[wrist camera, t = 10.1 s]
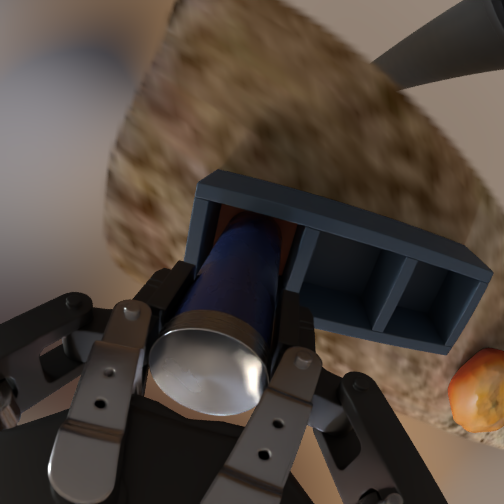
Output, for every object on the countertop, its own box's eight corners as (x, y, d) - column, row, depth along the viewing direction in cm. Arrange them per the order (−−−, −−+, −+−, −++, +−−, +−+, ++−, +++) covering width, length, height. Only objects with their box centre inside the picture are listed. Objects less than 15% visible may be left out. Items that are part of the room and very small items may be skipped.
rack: (217, 168, 20) (197, 182, 16) (464, 245, 19) (494, 272, 15) (199, 260, 22) (179, 291, 18) (427, 319, 22) (446, 355, 18)
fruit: (472, 417, 24) (476, 459, 18) (435, 371, 27) (433, 407, 20) (528, 369, 21) (548, 402, 14) (492, 318, 24) (509, 342, 17)
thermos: (229, 201, 19) (150, 311, 8) (290, 217, 19) (285, 349, 8) (218, 256, 21) (147, 395, 10) (274, 271, 21) (252, 426, 10)
